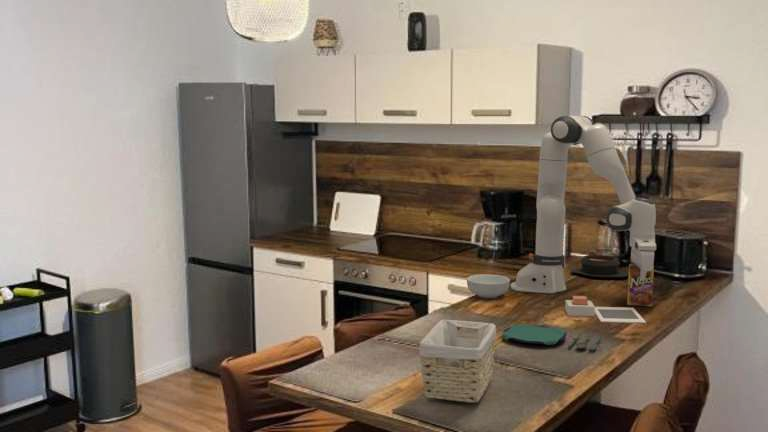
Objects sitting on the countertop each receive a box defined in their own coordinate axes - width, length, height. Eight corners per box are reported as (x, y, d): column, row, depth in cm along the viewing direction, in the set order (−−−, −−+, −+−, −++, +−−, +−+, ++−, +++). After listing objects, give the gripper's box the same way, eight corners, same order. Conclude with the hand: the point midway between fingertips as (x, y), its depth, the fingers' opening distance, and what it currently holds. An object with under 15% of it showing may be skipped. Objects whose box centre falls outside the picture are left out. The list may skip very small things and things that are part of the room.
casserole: (633, 275, 335) (633, 256, 334) (623, 283, 319) (624, 264, 318) (577, 270, 347) (577, 252, 346) (565, 277, 331) (566, 258, 330)
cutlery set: (513, 327, 254) (513, 320, 254) (604, 339, 241) (604, 332, 240) (494, 343, 237) (494, 335, 237) (591, 356, 223) (591, 348, 223)
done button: (574, 307, 269) (574, 298, 268) (572, 304, 273) (572, 295, 273) (587, 307, 268) (587, 299, 268) (585, 304, 273) (585, 296, 272)
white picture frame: (601, 322, 259) (601, 320, 259) (591, 307, 278) (591, 306, 278) (646, 323, 257) (646, 322, 257) (633, 308, 277) (633, 307, 277)
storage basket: (480, 406, 184) (481, 348, 182) (416, 399, 189) (416, 342, 187) (497, 375, 206) (498, 322, 204) (439, 369, 211) (440, 318, 209)
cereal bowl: (459, 293, 302) (459, 276, 301) (494, 289, 308) (495, 272, 307) (480, 303, 286) (481, 284, 285) (517, 298, 293) (518, 280, 292)
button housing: (568, 315, 267) (568, 306, 267) (565, 309, 276) (565, 300, 275) (594, 316, 266) (594, 306, 266) (590, 310, 275) (590, 300, 275)
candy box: (627, 305, 281) (628, 265, 280) (626, 302, 286) (628, 263, 284) (652, 307, 279) (654, 266, 277) (651, 304, 283) (653, 264, 281)
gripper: (627, 237, 290) (626, 272, 291) (639, 246, 270) (637, 284, 271) (644, 237, 289) (642, 272, 291) (657, 246, 269) (655, 284, 271)
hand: (640, 278), depth 281 cm, fingers closed on candy box, 4 cm apart
